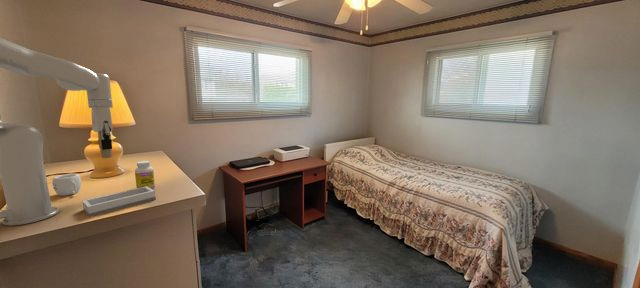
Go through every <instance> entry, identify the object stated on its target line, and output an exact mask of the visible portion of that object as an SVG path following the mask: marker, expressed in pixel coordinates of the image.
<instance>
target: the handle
mask: <svg viewBox="0 0 640 288" xmlns="http://www.w3.org/2000/svg"><path fill="white" fill-rule="evenodd" d="M103 132H105V130H103ZM101 140H102V136H101V131H100V132H99V142H98V147H99V146H100V148H99V150H100V151H99V152H100V154H101V158H102V159H110V158H111V159H112V157H113V155H112V152H113V150H112V149H113V148H112V149H105V150H103V149H102V144H101Z"/></svg>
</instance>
